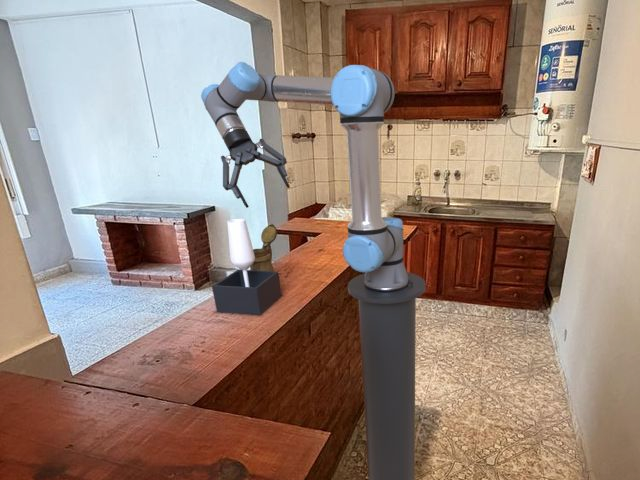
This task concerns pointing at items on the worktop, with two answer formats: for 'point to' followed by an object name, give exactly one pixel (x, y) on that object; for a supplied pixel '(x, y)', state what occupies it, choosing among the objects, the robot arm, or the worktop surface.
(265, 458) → the worktop surface
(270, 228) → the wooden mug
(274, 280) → the dark grey open box
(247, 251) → the champagne flute
